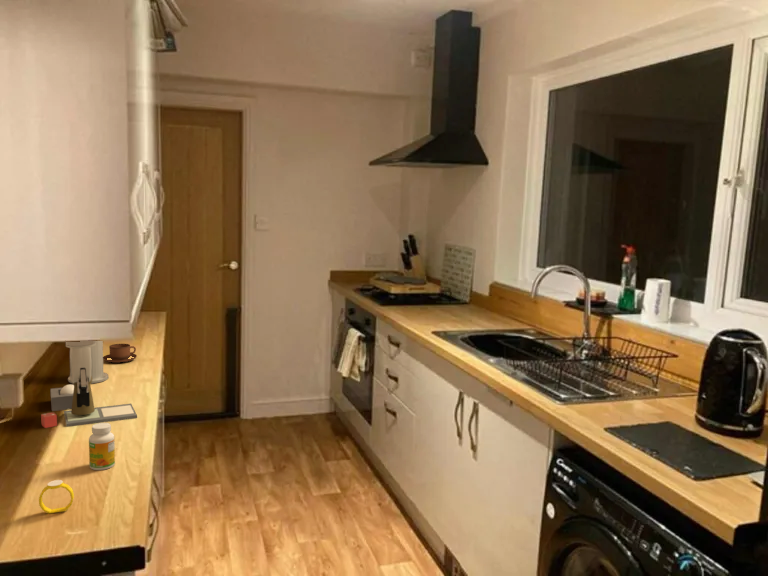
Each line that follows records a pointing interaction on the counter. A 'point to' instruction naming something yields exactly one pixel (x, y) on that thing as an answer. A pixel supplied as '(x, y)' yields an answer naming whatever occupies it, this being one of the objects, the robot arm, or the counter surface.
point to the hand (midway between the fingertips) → (82, 403)
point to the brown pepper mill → (83, 409)
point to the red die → (49, 420)
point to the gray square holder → (60, 400)
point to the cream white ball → (67, 389)
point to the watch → (55, 485)
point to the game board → (101, 415)
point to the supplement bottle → (101, 447)
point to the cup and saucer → (120, 353)
